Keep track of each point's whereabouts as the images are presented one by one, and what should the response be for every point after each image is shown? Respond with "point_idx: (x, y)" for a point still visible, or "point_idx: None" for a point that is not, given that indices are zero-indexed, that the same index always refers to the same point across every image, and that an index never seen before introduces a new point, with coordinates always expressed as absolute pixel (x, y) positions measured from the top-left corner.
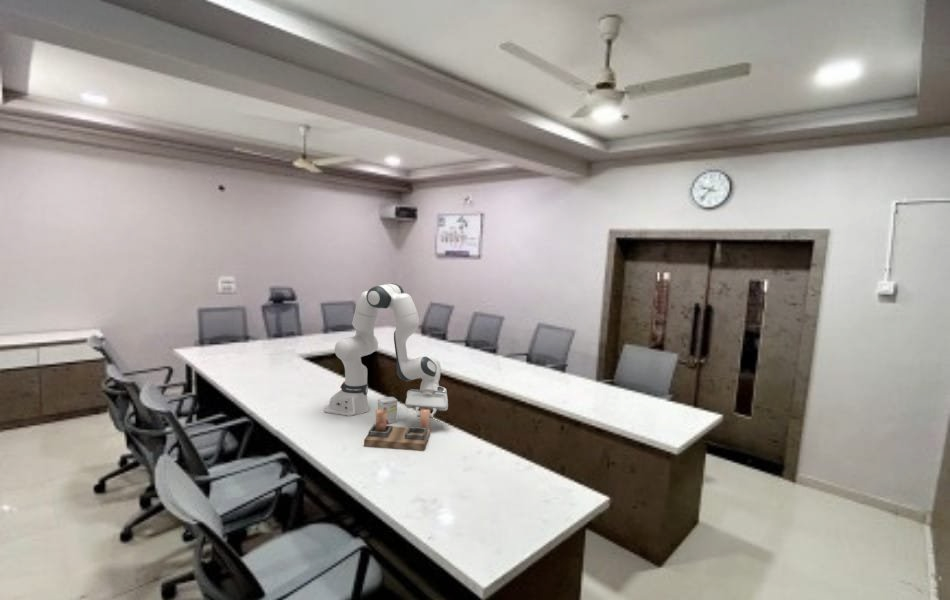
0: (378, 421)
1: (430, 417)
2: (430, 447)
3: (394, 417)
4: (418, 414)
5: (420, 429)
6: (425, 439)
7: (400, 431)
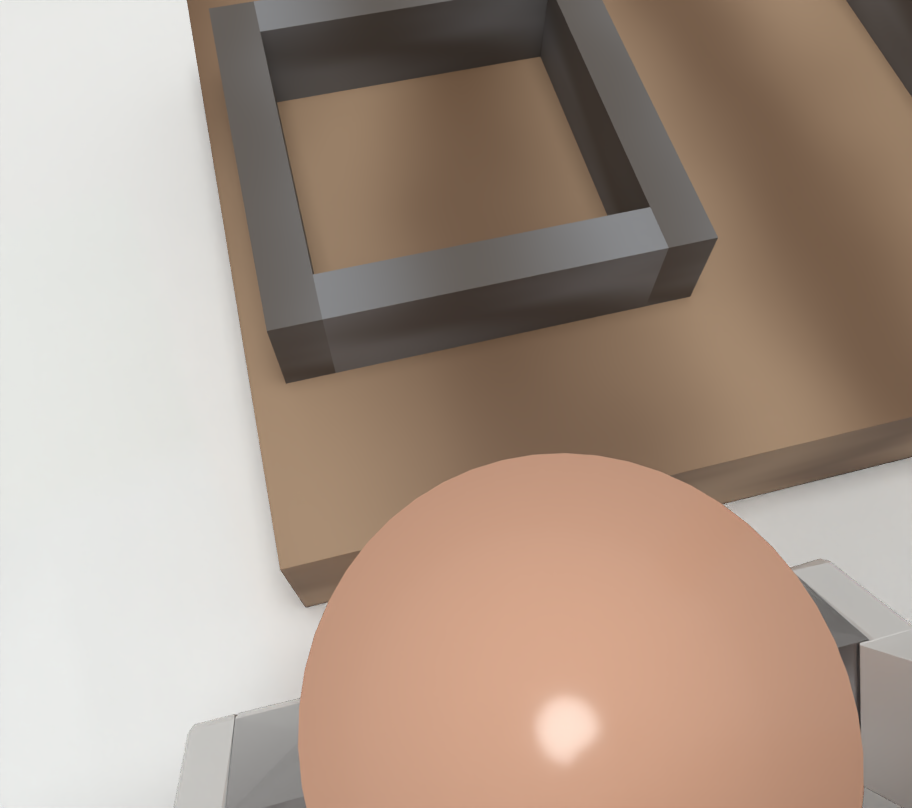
0: None
1: None
2: (151, 186)
3: None
4: None
5: (420, 265)
6: (219, 109)
7: (815, 222)
